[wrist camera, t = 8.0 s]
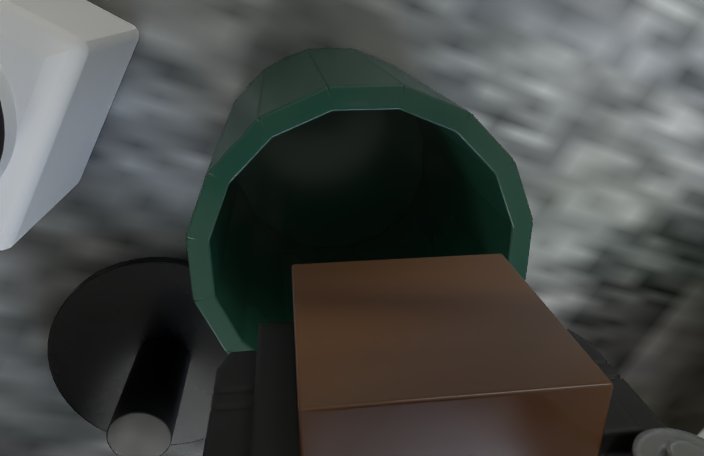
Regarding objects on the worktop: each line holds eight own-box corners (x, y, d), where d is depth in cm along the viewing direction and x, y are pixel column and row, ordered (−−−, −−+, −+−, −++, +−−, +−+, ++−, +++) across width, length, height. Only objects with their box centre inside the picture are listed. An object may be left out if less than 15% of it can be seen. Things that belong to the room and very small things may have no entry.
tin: (232, 259, 26) (206, 413, 16) (213, 49, 23) (167, 89, 13) (428, 248, 27) (512, 388, 18) (439, 46, 24) (551, 81, 14)
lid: (77, 436, 29) (28, 545, 23) (36, 256, 25) (-36, 334, 19) (278, 419, 30) (278, 520, 24) (266, 245, 26) (264, 315, 20)
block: (299, 435, 12) (307, 631, 8) (291, 263, 10) (298, 410, 7) (484, 419, 12) (570, 599, 9) (501, 252, 11) (615, 383, 7)
